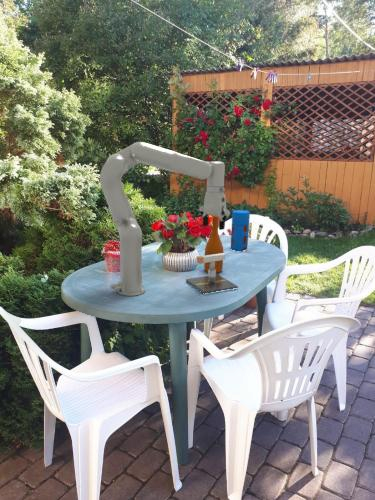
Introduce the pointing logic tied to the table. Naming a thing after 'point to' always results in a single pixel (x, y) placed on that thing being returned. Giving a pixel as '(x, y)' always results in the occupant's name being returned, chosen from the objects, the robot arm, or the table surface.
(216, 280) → the post base
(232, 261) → the table surface
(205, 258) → the t handle
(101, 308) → the table surface
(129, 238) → the robot arm
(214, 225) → the wine bottle
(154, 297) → the table surface
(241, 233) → the thermos
